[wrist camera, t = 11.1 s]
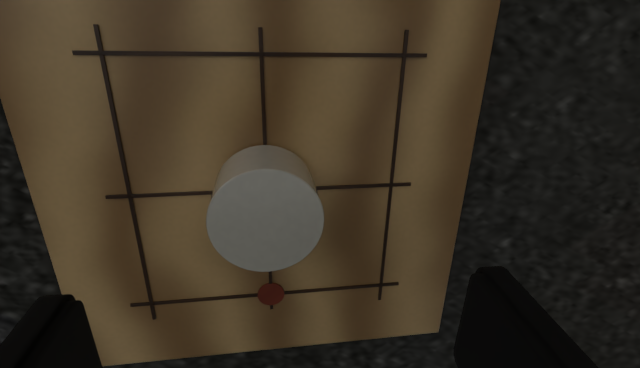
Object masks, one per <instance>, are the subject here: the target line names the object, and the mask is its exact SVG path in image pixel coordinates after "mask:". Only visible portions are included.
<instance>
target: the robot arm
mask: <svg viewBox="0 0 640 368" xmlns="http://www.w3.org/2000/svg"><path fill="white" fill-rule="evenodd" d="M454 358H455V362H456V364H457V366H458V368H598V367H597V366H596V365H595V364H594V363H593V361H592V360H591V359H590V358H589V357H588V356H587V355H586V354H585V353H584V352H583V351H582V350H581V349H580V348H579V346H578V345H577V344H576V343H575V342H574V341H573V340H572V339H571V338H570V337H569V336H568V335H567V334H566V333H565V331H564V330H563V329H562V328H561V327H560V326H559V325H558V324H557V323H556V322H555V321H554V320H553V319H552V318H551V316H550V315H549V314H548V313H547V312H546V311H545V310H544V309H543V308H542V307H541V306H540V305H539V304H538V303H537V301H536V300H535V299H534V298H533V297H532V296H531V295H530V294H529V293H528V292H527V291H526V290H525V289H524V288H523V286H522V285H521V284H520V283H519V282H518V281H517V280H516V279H515V278H514V277H513V276H512V275H511V274H510V273H509V271H508V270H507V269H505V268H504V267H502V266H494V267H481V268H478V269H477V270H476V273H475V274H472V275H471V277H470V280H469V285H468V289H467V293H466V298H465V302H464V307H463V311H462V315H461V320H460V324H459V329H458V333H457V338H456V342H455V346H454ZM0 368H103V367H102V364H101V361H100V357H99V354H98V351H97V348H96V344H95V341H94V338H93V334H92V331H91V328H90V324H89V321H88V318H87V315H86V311H85V308H84V305H83V303H82V301H81V300H75V297H74V296H73V295H71V294H64V295H48V296H42V297H39V298H38V299H37V300H36V301H35V303H34V304H33V305H32V306H31V308H30V309H29V310H28V311H27V313H26V314H25V315H24V316H23V318H22V319H21V320H20V321H19V323H18V324H17V325H16V326H15V327H14V329H13V330H12V331H11V332H10V334H9V335H8V336H7V337H6V339H5V340H4V341H3V342H2V344H1V345H0Z"/></svg>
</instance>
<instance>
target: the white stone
mask: <svg viewBox="0 0 640 368" xmlns="http://www.w3.org/2000/svg"><path fill="white" fill-rule="evenodd" d="M323 227H324V211H323V206H322V203H321V200H320V197H319V194H318V191H317V188H316V185H315V182H314V179H313V177H312V174H311V172H310V170H309V168H308V167H307V165H306V164H305V163H304V162H303V160H302V159H301V158H299V157H298V156H297V155H296V154H294V153H292V152H291V151H289V150H286V149H284V148H281V147H278V146H272V145H258V146H253V147H249V148H246V149H243V150H241V151H239V152H237V153H236V154H234V155H233V156H231V157H230V158H229V159H228V160H227V161H226V162H225V163H224V164H223V166H222V167H221V169H220V170H219V172H218V175H217V177H216V180H215V184H214V188H213V191H212V195H211V199H210V202H209V206H208V210H207V215H206V228H207V233H208V236H209V239H210V241H211V243H212V245H213V246H214V248H215V249H216V250H217V252H218V253H219V254H220V255H221V256H222V257H223V258H225V259H226V260H227V261H229V262H230V263H232V264H234V265H236V266H238V267H240V268H243V269H246V270H251V271H257V272H270V271H277V270H281V269H285V268H287V267H290V266H292V265H294V264H296V263H298V262H299V261H301V260H302V259H304V258H305V257H306V256H307V255H308V254H309V253H310V252H311V251H312V250H313V249H314V247H315V246H316V245H317V243H318V241H319V239H320V237H321V234H322V231H323Z"/></svg>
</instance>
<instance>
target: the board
mask: <svg viewBox="0 0 640 368" xmlns="http://www.w3.org/2000/svg"><path fill="white" fill-rule="evenodd" d="M500 1H501V0H0V99H1V102H2V105H3V108H4V111H5V114H6V118H7V121H8V124H9V127H10V130H11V134H12V137H13V140H14V143H15V146H16V149H17V153H18V156H19V159H20V162H21V165H22V169H23V172H24V175H25V178H26V181H27V184H28V188H29V191H30V194H31V197H32V200H33V204H34V207H35V210H36V213H37V216H38V219H39V223H40V226H41V229H42V232H43V235H44V239H45V242H46V245H47V248H48V251H49V255H50V258H51V261H52V264H53V267H54V270H55V274H56V277H57V280H58V283H59V286H60V290H61V293H62V295H64V294H71V295H73V296H74V297H75V300H81V301H82V303H83V305H84V308H85V311H86V315H87V318H88V321H89V324H90V328H91V331H92V334H93V338H94V341H95V344H96V348H97V351H98V354H99V357H100V361H101V364H102V366H110V365H120V364H130V363H140V362H149V361H159V360H169V359H179V358H189V357H199V356H209V355H218V354H228V353H238V352H248V351H258V350H268V349H278V348H287V347H297V346H307V345H317V344H327V343H337V342H347V341H356V340H366V339H376V338H386V337H396V336H406V335H416V334H425V333H435V332H438V331H439V326H440V321H441V315H442V310H443V305H444V299H445V294H446V289H447V283H448V278H449V273H450V267H451V262H452V257H453V251H454V246H455V241H456V236H457V230H458V225H459V220H460V214H461V209H462V204H463V198H464V193H465V188H466V182H467V177H468V172H469V166H470V161H471V156H472V150H473V145H474V140H475V134H476V129H477V124H478V118H479V113H480V108H481V102H482V97H483V92H484V86H485V81H486V76H487V70H488V65H489V60H490V54H491V49H492V44H493V38H494V33H495V28H496V22H497V17H498V12H499V6H500ZM258 145H272V146H278V147H281V148H284V149H286V150H289V151H291V152H292V153H294V154H296V155H297V156H298V157H299V158H301V159H302V160H303V162H304V163H305V164H306V165H307V167H308V168H309V170H310V172H311V174H312V177H313V179H314V182H315V185H316V188H317V191H318V194H319V197H320V200H321V203H322V206H323V211H324V227H323V231H322V234H321V237H320V239H319V241H318V243H317V245H316V246H315V247H314V249H313V250H312V251H311V252H310V253H309V254H308V255H307V256H306V257H305V258H304V259H302V260H301V261H299V262H298V263H296V264H294V265H292V266H290V267H287V268H285V269H281V270H277V271H270V272H257V271H251V270H246V269H243V268H240V267H238V266H236V265H234V264H232V263H230V262H229V261H227V260H226V259H225V258H223V257H222V256H221V255H220V254H219V253H218V252H217V250H216V249H215V248H214V246H213V245H212V243H211V241H210V239H209V236H208V233H207V228H206V215H207V210H208V206H209V202H210V199H211V195H212V191H213V188H214V184H215V180H216V177H217V175H218V172H219V170H220V169H221V167H222V166H223V164H224V163H225V162H226V161H227V160H228V159H229V158H230V157H231V156H233V155H234V154H236V153H237V152H239V151H241V150H243V149H246V148H249V147H253V146H258Z"/></svg>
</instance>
